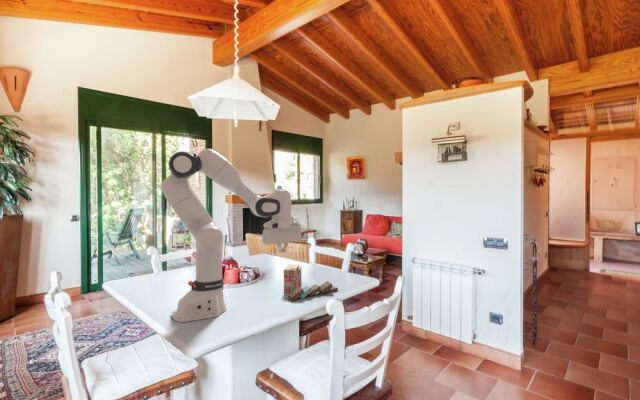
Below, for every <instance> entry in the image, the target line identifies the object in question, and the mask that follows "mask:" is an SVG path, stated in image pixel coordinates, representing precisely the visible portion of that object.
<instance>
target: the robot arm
mask: <svg viewBox="0 0 640 400" xmlns="http://www.w3.org/2000/svg"><path fill="white" fill-rule="evenodd" d="M168 168H169V170H170V175H169V176H167V177H166V178H164V179H163V181H162V182H161V184H160V189H161V191H162V193H163V196H164V198H165V199H166V201H167V203H168V204H169V206H170V207H171V209H172V210H173V211H174V213H175V214H176V215H177V217H178V218H179V220H180V221H181V222H182V224H183V225H184V226H185V227H186V229H187V230H188V231H189V233H190V235H192V237H193V238H194V240H195V245H196V248H195V250H196V251H195V280H194V281H192V280H189V281H187V285H188V286H189V287H190V288H191V289H190V290H189V291H187V293H185V294H184V295H183V296H182V297H181V298H179V300H178V303H177V305H176V306H177V307H176V309H174V310H173V311H172V312H171V318H172V320H173V321H175V322H177V323H188V322H193V321H197V320H198V321H200V320H205V319H211V318H217V317H220V315H221V314H222V313H224V312H225V311H227V307H226V303H225V299H224V292H223V291H224V278H223V253H224V252H223V251H224V232H223V230H222V229H221V228H220V227H219V226H218V225H217V224H216V222H215V221H214V220H213V218H212V217H211V215H210V213H209V212H208V210H207V209H206V207H205V206H204V204H203V202H202V201H201V200H200V199H199V197H198V195H197V194H196V193H195V191H194V190H193V188H192V187H191V185H190V183H189V179H190V178H191V177H192V176H194V175H195V174H196V173H203V174H204V175H205V176H207V177H208V178H209V179H210V180H212V181H213V182H214V183H216V184H217V185H219V186H220V187H222V188H224V189H226V190H228V191H230V192H232V193H234V194H235V195H236V196H237V197H238V198H240V200H242V201H243V202H244V203H245V204H246V205H247V206H248V208H249V210H250V212H251V214H253V215H254V216H256V217H259V218H260V217H261V218H268V217H272V219H270V220H269V221H266V222H265V223H263V228H264V229H263V230H262V234H261V235H262V237H261V242H262V243H263V244H264V245H267V246H269V245H275V244H276V246H277V248H278V253H286V252H287V248H288V245H289V243H293V242H301V241H302V228H301V226H302V225H301V224H300V223H299V222H292V221H293V217H292V216H293V215H292V208H293V207H292V197H291V193H290V192H289V191H288V190H285V189H284V190H283V189H277V188H276V189H274V190H273V191H271V192H270V193H268V194H266V195H263V196H262V195H258V194H256V193H255V192H254V191H252V190H251V188H249V187H248V186H247V185H246V184H245V183H244V182H243V181H242V178H241V175H240V172H239V170H238V169H237V168H236V167H235V166H234V164H233V163H231V162H230V161H229V160H228V159H227V158H226V157H224V156H223V155H221V154H220V153H218V152H217V151H215V150H213V149H212V148H205V149H202V150H201V151H199V152H198V153H193V152H188V151H177V152H175V153H173V154H172V155H171V156H170V158H169V159H168ZM282 244H283V247H282Z"/></svg>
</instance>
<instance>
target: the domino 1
mask: <svg viewBox="0 0 640 400" xmlns="http://www.w3.org/2000/svg"><path fill="white" fill-rule="evenodd" d="M302 288H303V287H300V286H299V287H297V288H296V289H294V290H293V291H292V292H291V293H290V292H288V294H287V295H286V297H288V300H290V301H292V302H295V301H296V300H297V299H298V298H299V296H301V295H302V294H303V293H304V291H303V289H302Z"/></svg>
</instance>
